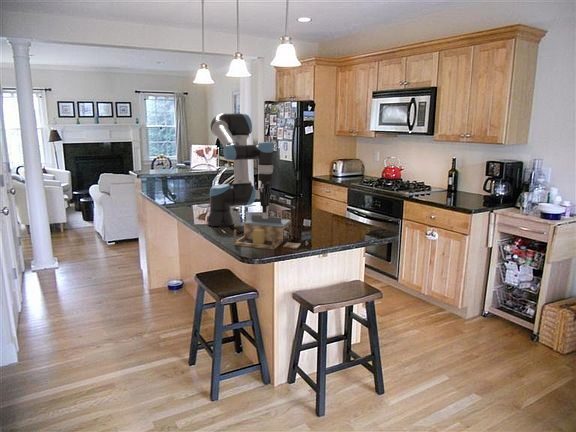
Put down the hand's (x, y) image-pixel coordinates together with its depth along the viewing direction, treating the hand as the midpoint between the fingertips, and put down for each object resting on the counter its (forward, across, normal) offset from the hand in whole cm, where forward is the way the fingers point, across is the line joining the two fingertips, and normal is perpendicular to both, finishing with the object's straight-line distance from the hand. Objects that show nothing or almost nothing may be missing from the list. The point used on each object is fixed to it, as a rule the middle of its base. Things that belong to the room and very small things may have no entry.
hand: (265, 218), depth 225 cm
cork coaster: (+11, -8, -17) cm, 22 cm away
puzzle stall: (+11, -2, 0) cm, 11 cm away
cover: (+3, +4, 0) cm, 5 cm away
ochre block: (+11, -10, 0) cm, 15 cm away
